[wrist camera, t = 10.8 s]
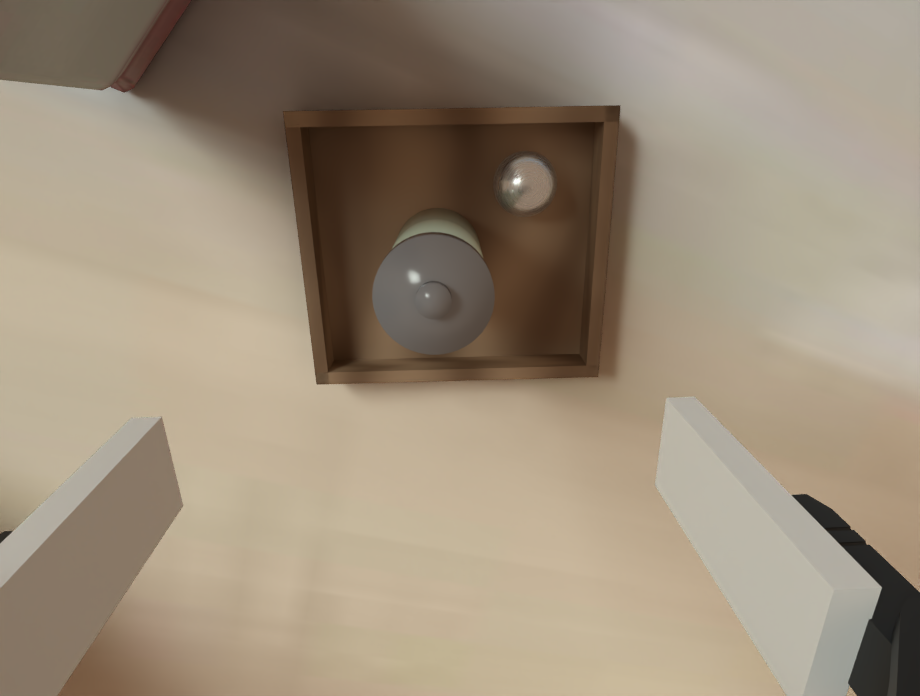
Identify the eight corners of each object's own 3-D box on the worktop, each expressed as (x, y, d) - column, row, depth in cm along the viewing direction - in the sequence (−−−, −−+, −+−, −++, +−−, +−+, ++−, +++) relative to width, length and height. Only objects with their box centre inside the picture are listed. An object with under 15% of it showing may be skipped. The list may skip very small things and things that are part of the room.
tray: (324, 368, 38) (316, 384, 36) (294, 112, 32) (283, 111, 30) (588, 361, 38) (598, 376, 36) (607, 106, 32) (620, 105, 30)
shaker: (395, 294, 36) (375, 360, 26) (390, 206, 34) (365, 240, 23) (482, 292, 36) (495, 358, 26) (482, 204, 34) (496, 238, 24)
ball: (490, 212, 34) (495, 222, 30) (490, 149, 32) (496, 152, 29) (549, 211, 34) (561, 221, 31) (552, 148, 33) (564, 151, 29)
